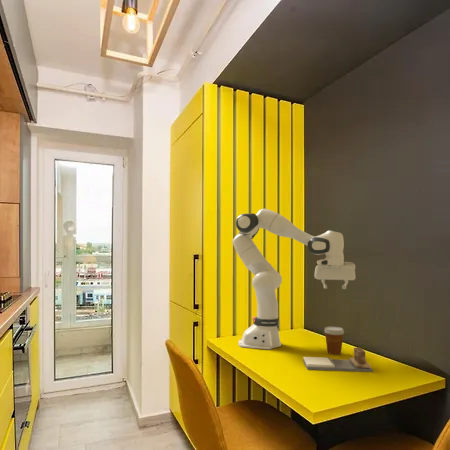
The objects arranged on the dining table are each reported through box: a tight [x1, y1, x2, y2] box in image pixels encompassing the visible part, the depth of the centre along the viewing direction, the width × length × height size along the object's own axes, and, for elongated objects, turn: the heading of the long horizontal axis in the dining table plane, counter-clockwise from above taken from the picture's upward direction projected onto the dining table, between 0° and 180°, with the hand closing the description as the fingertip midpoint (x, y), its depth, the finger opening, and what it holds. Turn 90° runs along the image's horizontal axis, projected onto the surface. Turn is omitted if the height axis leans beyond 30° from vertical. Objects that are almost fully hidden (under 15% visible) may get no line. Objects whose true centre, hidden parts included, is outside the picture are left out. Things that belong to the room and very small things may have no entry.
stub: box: [348, 347, 372, 368], centre depth 155 cm, size 6×10×6 cm, turn 176°
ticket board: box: [302, 356, 374, 373], centre depth 156 cm, size 27×12×2 cm, turn 86°
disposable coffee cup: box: [323, 326, 345, 356], centre depth 175 cm, size 10×10×12 cm
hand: (334, 288), depth 183 cm, fingers open, 8 cm apart
